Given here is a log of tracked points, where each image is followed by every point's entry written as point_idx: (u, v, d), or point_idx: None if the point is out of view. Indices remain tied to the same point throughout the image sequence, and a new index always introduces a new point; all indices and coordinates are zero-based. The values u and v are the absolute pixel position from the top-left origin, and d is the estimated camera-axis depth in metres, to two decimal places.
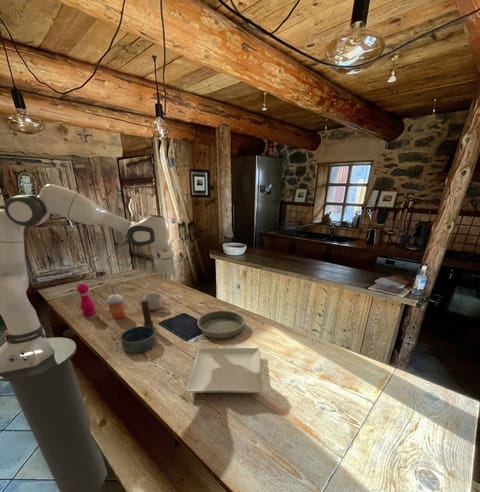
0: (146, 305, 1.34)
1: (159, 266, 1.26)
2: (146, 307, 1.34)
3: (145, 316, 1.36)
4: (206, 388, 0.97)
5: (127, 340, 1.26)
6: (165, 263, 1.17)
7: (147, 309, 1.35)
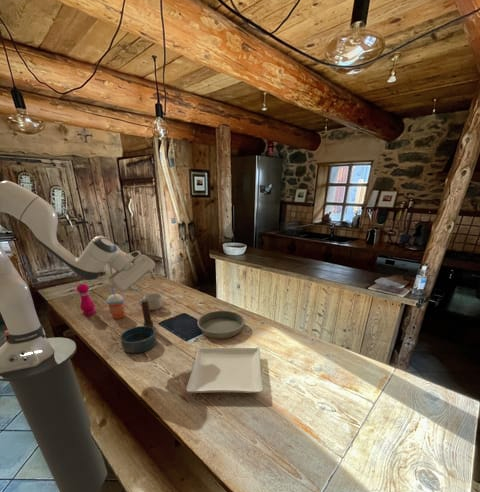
0: (146, 305, 1.34)
1: (136, 274, 1.18)
2: (146, 307, 1.34)
3: (145, 316, 1.36)
4: (206, 388, 0.97)
5: (127, 340, 1.26)
6: None
7: (147, 309, 1.35)
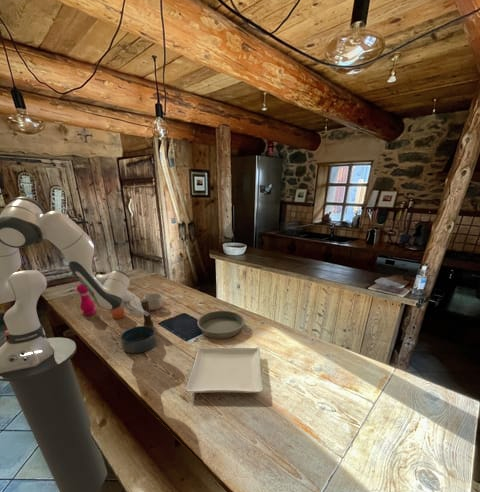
0: (146, 305, 1.34)
1: (138, 303, 1.33)
2: (146, 307, 1.34)
3: (145, 316, 1.36)
4: (206, 388, 0.97)
5: (127, 340, 1.26)
6: None
7: (147, 309, 1.35)
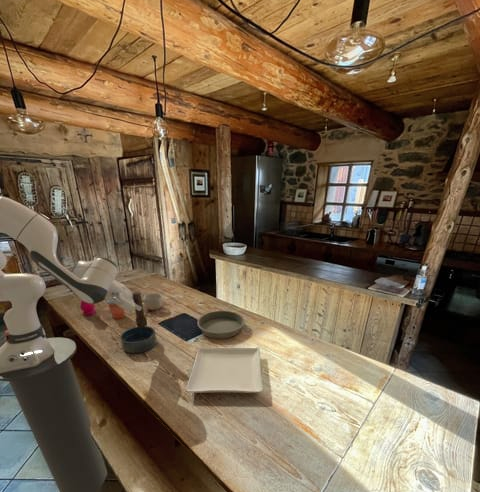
0: (138, 298, 1.16)
1: (129, 296, 1.15)
2: (138, 300, 1.16)
3: (137, 311, 1.18)
4: (206, 388, 0.97)
5: (127, 340, 1.26)
6: None
7: (140, 303, 1.17)
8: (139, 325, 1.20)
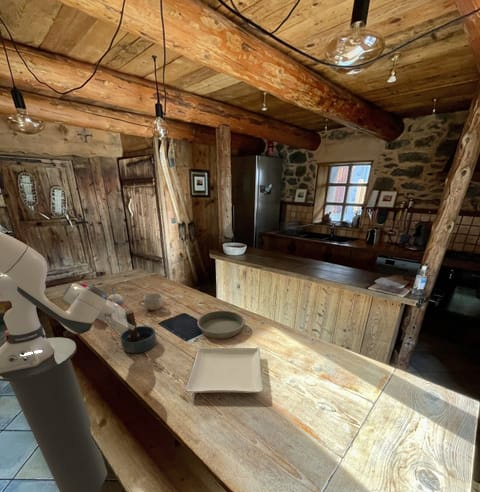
0: (131, 317, 1.17)
1: (122, 315, 1.16)
2: (131, 319, 1.18)
3: (130, 330, 1.19)
4: (206, 388, 0.97)
5: (127, 340, 1.26)
6: None
7: (133, 322, 1.18)
8: None
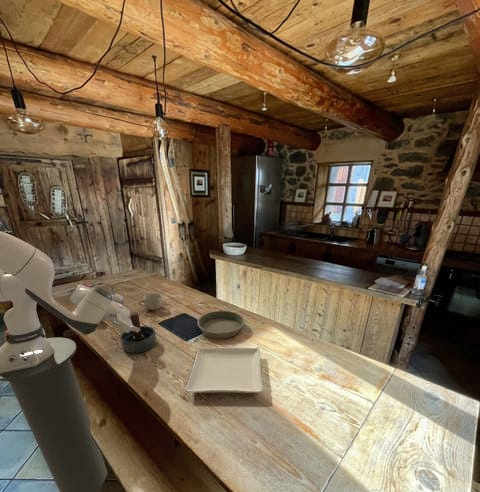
0: (136, 318, 1.18)
1: (127, 316, 1.18)
2: (136, 321, 1.19)
3: None
4: (206, 388, 0.97)
5: (127, 340, 1.26)
6: None
7: (137, 323, 1.20)
8: None
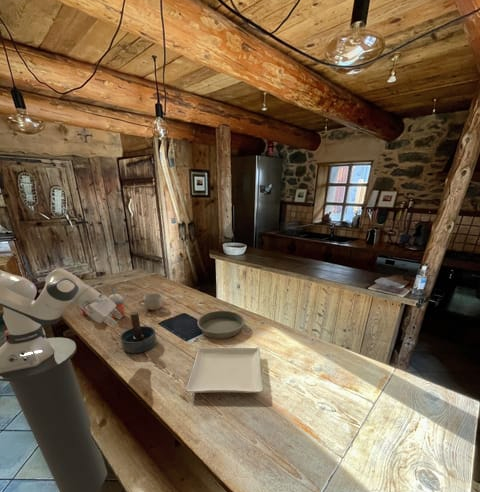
0: (136, 318, 1.18)
1: (107, 307, 1.09)
2: (136, 321, 1.19)
3: (135, 331, 1.20)
4: (206, 388, 0.97)
5: (127, 340, 1.26)
6: None
7: (137, 323, 1.20)
8: None
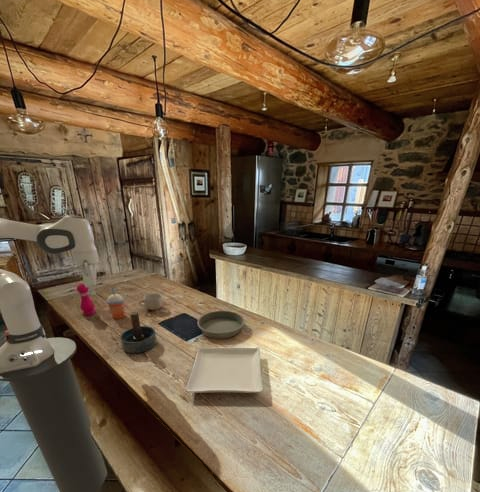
0: (136, 318, 1.18)
1: (95, 274, 1.08)
2: (136, 321, 1.19)
3: (135, 331, 1.20)
4: (206, 388, 0.97)
5: (127, 340, 1.26)
6: None
7: (137, 323, 1.20)
8: None
